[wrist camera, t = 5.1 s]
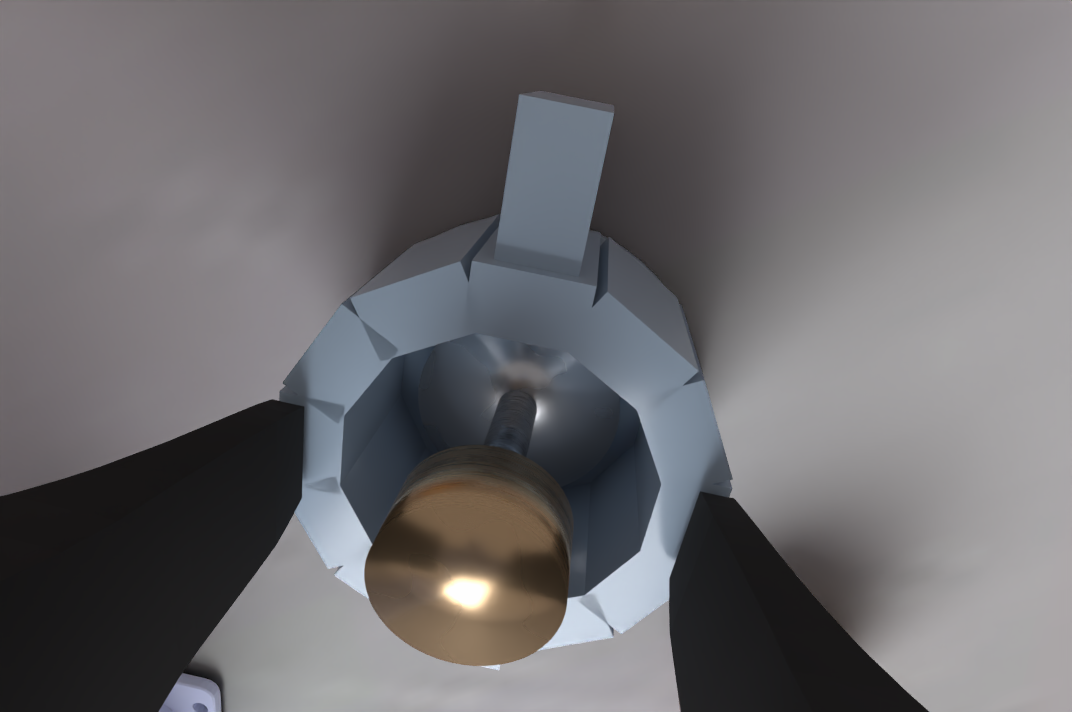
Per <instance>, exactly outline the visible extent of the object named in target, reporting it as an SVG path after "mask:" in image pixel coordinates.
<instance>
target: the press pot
mask: <svg viewBox="0 0 1072 712" xmlns="http://www.w3.org/2000/svg"><path fill="white" fill-rule="evenodd" d="M613 117H614V105H611V104H606V103H601V102H596V101H591V100H586V99H581V98H575V97H570V96H565V95H560V94H555V93H550V92H545V91H536V92H530V93H524V94H519V99H518V106H517V112H516V119H515V125H514V132H513V138H512V145H511V151H510V158H509V164H508V171H507V177H506V184H505V190H504V196H503V203H502V209H501V216H500V214H498V215H495V216H492V217H489V218H485V219H481V220H477V221H473V222H470V223H466V224H462V225H460V226H457V227H455V228H453V229H450V230H448V231H446V232H443V233H441V234H439V235H437V236H435V237H432V238H429V239H426V240H423V241H420V242H418V243H415V244H414V245H413V246H412V247H410V248H408V249H407V250H406V251H405V252H403V253H402V254H401V255H400V256H399V257H397V258H396V259H395V260H394V261H393V262H391V263H390V264H389V265H388V266H387V267H385V268H384V269H383V270H382V271H381V272H379V273H378V274H377V275H376V276H375V277H373V278H372V279H371V280H370V281H369V282H367V283H366V284H365V285H364V286H363V287H361V288H360V289H359V290H358V291H357V292H355V293H354V294H353V295H352V296H351V297H349V298H348V299H347V300H346V301H345V302H343V303H342V304H341V305H340V307H339V308H338V309H337V311H336V312H335V313H334V315H333V316H332V317H331V319H330V320H329V321H328V323H327V324H326V325H325V327H324V328H323V329H322V331H321V332H320V333H319V335H318V336H317V337H316V339H315V340H314V341H313V343H312V344H311V345H310V347H309V348H308V349H307V351H306V352H305V353H304V355H303V356H302V357H301V359H300V360H299V361H298V363H297V364H296V365H295V367H294V368H293V369H292V371H291V372H290V373H289V375H288V376H287V377H286V379H285V380H284V381H283V384H284V385H286V386H285V387H284V388H283V389H282V390H281V391H280V401H281V402H286V403H291V404H295V405H300V406H304V442H303V478H302V499H301V501H300V503H299V505H298V506H297V508H296V510H295V512H294V513H295V514H296V516H297V518H298V519H299V521H300V523H301V524H302V526H303V528H304V529H305V531H306V533H307V534H308V536H309V538H310V539H311V541H312V543H313V545H314V546H315V548H316V550H317V551H318V553H319V555H320V556H321V558H322V560H323V561H324V563H325V565H326V566H327V568H328V569H330V568H334V567H338V569H337V571H336V573H335V574H334V576H336V577H337V578H339V579H340V580H342V581H343V582H345V583H346V584H348V585H349V586H350V587H352V588H353V589H355V590H356V591H358V592H359V593H361V594H362V595H364V596H365V597H366V598H368V599H369V597H368V594H367V591H366V586H365V580H364V568H365V562H366V558H367V555H368V552H369V550H370V548H371V546H372V544H373V542H374V540H375V538H376V536H377V534H378V532H379V530H380V528H381V526H382V524H383V523H384V521H385V519H386V517H387V515H388V513H389V511H390V509H391V507H392V505H393V503H394V501H395V499H396V497H397V495H398V493H399V492H400V490H401V488H402V486H403V484H404V482H405V480H406V479H407V477H408V475H409V474H410V473H411V472H412V470H413V469H414V468H415V467H416V466H417V465H418V464H419V463H421V462H422V461H423V460H425V459H426V458H428V457H429V456H431V455H433V454H435V453H437V452H438V450H437V449H436V448H435V446H434V445H433V443H432V442H431V440H430V438H429V436H428V435H427V433H426V430H425V428H424V425H423V423H422V419H421V415H420V411H419V403H418V387H419V382H420V377H421V373H422V370H423V368H424V365H425V363H426V361H427V359H428V357H429V355H430V354H431V352H432V351H433V349H434V347H435V346H436V345H437V344H440V343H444V342H447V341H450V340H454V339H457V338H460V337H464V336H467V335H470V334H473V333H478V334H483V335H488V336H492V337H497V338H502V339H507V340H511V341H516V342H521V343H526V344H530V345H535V346H540V347H545V348H550V349H554V350H559V351H564V352H568V353H569V354H570V355H572V356H573V357H574V358H575V359H576V360H577V361H579V362H580V363H581V364H582V365H583V366H585V367H586V368H587V369H588V370H589V371H591V372H592V373H593V374H594V375H595V376H597V377H598V378H599V379H600V380H601V381H603V382H604V383H605V384H606V385H607V386H609V387H610V388H611V389H612V390H613V391H615V392H616V393H617V394H618V395H619V396H620V415H619V423H618V428H617V431H616V434H615V437H614V440H613V442H612V444H611V446H610V448H609V450H608V451H607V453H606V454H605V455H604V457H603V458H602V459H601V461H600V462H599V463H598V464H597V465H596V466H595V467H594V468H593V469H592V470H590V471H589V472H588V473H586V474H585V475H584V476H582V477H580V478H579V479H577V480H575V481H574V482H571V483H569V484H567V485H565V486H562V487H561V488H562V490H563V491H564V493H565V495H566V497H567V499H568V501H569V504H570V507H571V510H572V515H573V521H574V529H573V542H572V554H571V565H570V577H569V588H568V600H567V608H566V613H565V616H564V619H563V622H562V624H561V626H560V628H559V629H558V631H557V633H556V634H555V635H554V636H553V637H552V639H551V640H550V641H549V642H548V643H547V644H545V645H544V646H543V647H542V648H540V649H539V650H543V649H549V648H555V647H560V646H566V645H572V644H578V643H584V642H590V641H596V640H601V639H607V638H613V628H614V629H615V630H617V631H618V632H619V633H621V634H622V633H624V632H625V631H627V630H628V629H629V628H631V627H632V626H633V625H635V624H636V623H638V622H639V621H640V620H642V619H643V618H644V617H646V616H647V615H648V614H650V613H651V612H653V611H654V610H655V609H657V608H658V607H659V606H661V605H662V604H663V603H665V602H666V601H668V600H669V578H670V575H671V572H672V569H673V567H674V564H675V561H676V558H677V555H678V552H679V549H680V547H681V544H682V541H683V538H684V535H685V532H686V530H687V527H688V524H689V521H690V518H691V515H692V513H693V510H694V507H695V504H696V501H697V498H698V496H699V493H700V491H701V492H705V493H710V494H715V495H719V496H724V497H729V496H730V493H731V491H732V486H731V482H730V480H732V475H731V472H730V468H729V465H728V461H727V458H726V454H725V450H724V447H723V443H722V440H721V436H720V433H719V429H718V426H717V422H716V419H715V415H714V412H713V408H712V405H711V401H710V398H709V394H708V391H707V387H706V383H705V380H704V377H703V373H702V370H701V367H700V364H699V360H698V357H697V354H696V350H695V347H694V344H693V340H692V337H691V334H690V331H689V327H688V324H687V321H686V317H685V314H684V311H683V308H682V304H680V305H679V302H678V299H677V297H676V296H675V295H674V294H673V293H672V292H671V291H670V290H668V289H667V288H666V287H665V286H664V285H663V284H662V282H661V281H660V280H659V278H658V277H657V276H656V275H655V274H654V273H653V272H652V271H651V270H650V269H649V268H648V267H647V266H646V265H645V264H644V263H643V262H642V261H640V260H639V259H638V258H637V257H635V256H634V255H633V254H632V253H630V252H629V251H628V250H626V249H625V248H624V247H622V246H620V245H619V244H617V243H616V242H615V241H614V240H612V239H611V238H610V237H608V238H607V237H605V236H603V235H601V232H597V231H592V230H589V228H590V223H591V219H592V214H593V209H594V205H595V200H596V195H597V191H598V186H599V181H600V177H601V172H602V168H603V163H604V158H605V154H606V149H607V144H608V140H609V135H610V130H611V126H612V121H613ZM482 667H486V668H491V669H495V670H499V668H500V665H491V666H482Z"/></svg>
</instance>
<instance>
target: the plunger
mask: <svg viewBox="0 0 1072 712" xmlns="http://www.w3.org/2000/svg"><path fill="white" fill-rule="evenodd" d="M418 403H419V411H420V415H421V419H422V423H423V425H424V428H425V430H426V433H427V435H428V436H429V438H430V440H431V442H432V443H433V445H434V446H435V448H436V449H437V450H438V452H437V453H435V454H433V455H431V456H429V457H428V458H426V459H425V460H423V461H422V462H421V463H419V464H418V465H417V466H416V467H415V468H414V469H413V470H412V472H411V473H410V474H409V475H408V477H407V479H406V480H405V482H404V484H403V486H402V488H401V490H400V492H399V493H398V495H397V497H396V499H395V501H394V503H393V505H392V507H391V509H390V511H389V513H388V515H387V517H386V519H385V521H384V523H383V524H382V526H381V528H380V530H379V532H378V534H377V536H376V538H375V540H374V542H373V544H372V546H371V548H370V550H369V552H368V555H367V558H366V562H365V568H364V580H365V586H366V591H367V594H368V597H369V600H370V602H371V604H372V606H373V608H374V610H375V611H376V613H377V615H378V616H379V618H380V619H381V620H382V621H383V622H384V624H385V625H386V626H387V627H388V628H389V629H390V630H391V631H392V632H393V633H394V634H395V635H396V636H398V637H399V638H400V639H402V640H403V641H404V642H406V643H407V644H409V645H410V646H412V647H414V648H415V649H417V650H419V651H421V652H423V653H425V654H427V655H430V656H432V657H435V658H438V659H440V660H444V661H448V662H451V663H457V664H462V665H472V666H491V665H500V664H505V663H509V662H513V661H516V660H519V659H522V658H525V657H527V656H529V655H531V654H533V653H534V652H536V651H537V650H539V649H540V648H542V647H543V646H544V645H545V644H547V643H548V642H549V641H550V640H551V639H552V637H553V636H554V635H555V634H556V633H557V631H558V629H559V628H560V626H561V624H562V622H563V619H564V616H565V613H566V608H567V600H568V588H569V577H570V565H571V554H572V542H573V529H574V521H573V515H572V510H571V507H570V504H569V501H568V499H567V497H566V495H565V493H564V491H563V490H562V488H561V487H562V486H565V485H567V484H569V483H571V482H574V481H575V480H577V479H579V478H580V477H582V476H584V475H585V474H586V473H588V472H589V471H590V470H592V469H593V468H594V467H595V466H596V465H597V464H598V463H599V462H600V461H601V459H602V458H603V457H604V455H605V454H606V453H607V451H608V450H609V448H610V446H611V444H612V442H613V440H614V437H615V434H616V431H617V428H618V423H619V415H620V396H619V395H618V394H617V393H616V392H615V391H613V390H612V389H611V388H610V387H609V386H607V385H606V384H605V383H604V382H603V381H601V380H600V379H599V378H598V377H597V376H595V375H594V374H593V373H592V372H591V371H589V370H588V369H587V368H586V367H585V366H583V365H582V364H581V363H580V362H579V361H577V360H576V359H575V358H574V357H573V356H572V355H570V354H569V353H568V352H564V351H559V350H554V349H550V348H545V347H540V346H535V345H530V344H526V343H521V342H516V341H511V340H507V339H502V338H497V337H492V336H488V335H483V334H478V333H473V334H470V335H467V336H464V337H460V338H457V339H454V340H450V341H447V342H444V343H440V344H437V345H436V346H435V347H434V349H433V351H432V352H431V354H430V355H429V357H428V359H427V361H426V363H425V365H424V368H423V370H422V373H421V377H420V382H419V387H418Z"/></svg>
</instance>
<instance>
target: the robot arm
mask: <svg viewBox="0 0 1072 712" xmlns="http://www.w3.org/2000/svg"><path fill="white" fill-rule="evenodd" d="M303 442H304V406H300V405H295V404H291V403H286V402H281V401H277V400H269V401H266V402H263V403H260V404H257V405H255V406H252V407H249V408H247V409H245V410H242V411H240V412H237V413H235V414H232V415H230V416H228V417H225V418H223V419H221V420H218V421H216V422H213V423H211V424H209V425H206V426H204V427H201V428H199V429H197V430H194V431H192V432H189V433H187V434H185V435H182V436H180V437H177V438H175V439H173V440H170V441H168V442H165V443H163V444H160V445H157V446H155V447H152V448H149V449H147V450H144V451H141V452H139V453H136V454H133V455H131V456H128V457H125V458H122V459H120V460H117V461H114V462H112V463H109V464H106V465H104V466H101V467H98V468H95V469H92V470H89V471H86V472H83V473H80V474H77V475H74V476H71V477H68V478H64V479H61V480H58V481H54V482H51V483H47V484H44V485H41V486H37V487H34V488H30V489H27V490H23V491H20V492H16V493H12V494H9V495H5V496H1V497H0V712H221V696H220V690H219V687H218V686H217V684H216V683H214V682H213V681H212V680H209V679H206V678H202V677H198V676H193V675H189V674H184V673H183V671H184V670H185V669H186V667H187V666H188V664H189V663H190V661H191V660H192V658H193V657H194V655H195V654H196V652H197V651H198V650H199V648H200V647H201V646H202V644H203V643H204V642H205V640H206V639H207V638H208V636H209V635H210V634H211V632H212V631H213V630H214V628H215V627H216V626H217V624H218V623H219V622H220V620H221V619H222V618H223V616H224V615H225V614H226V612H227V611H228V610H229V608H230V607H231V606H232V604H233V603H234V602H235V600H236V599H237V598H238V596H239V595H240V594H241V592H242V591H243V590H244V588H245V587H246V586H247V584H248V583H249V582H250V580H251V579H252V577H253V576H254V575H255V573H256V572H257V571H258V569H259V568H260V567H261V565H262V564H263V562H264V561H265V560H266V558H267V557H268V556H269V554H270V553H271V551H272V550H273V549H274V547H275V546H276V544H277V543H278V541H279V539H280V537H281V536H282V534H283V532H284V530H285V529H286V527H287V525H288V523H289V521H290V520H291V518H292V516H293V514H294V512H295V510H296V508H297V506H298V505H299V503H300V501H301V499H302V478H303ZM669 617H670V637H671V645H672V653H673V660H674V667H675V675H676V682H677V689H678V696H679V703H680V710H681V712H929V711H928V710H927V709H925V708H924V707H923V706H922V705H921V704H920V703H919V702H918V701H916V700H915V699H914V698H913V697H912V696H911V695H910V694H909V693H908V692H907V691H905V690H904V689H903V688H902V687H901V686H900V685H899V684H898V683H897V682H896V681H895V680H894V679H893V678H892V677H891V676H890V675H889V674H888V673H887V672H886V671H884V670H883V669H882V668H881V667H880V666H879V665H878V664H877V663H876V662H875V661H874V660H873V659H872V658H871V657H870V656H869V655H868V654H867V653H866V652H865V651H864V650H863V649H862V648H861V647H860V646H859V645H858V644H857V643H856V642H855V641H854V640H853V639H852V638H851V637H850V636H849V635H848V633H847V632H846V631H845V630H844V629H843V628H842V627H841V626H840V625H839V624H838V623H837V621H836V620H835V619H834V618H833V617H832V616H831V615H830V614H829V613H828V612H827V611H826V610H825V608H824V607H823V606H822V605H821V604H820V603H819V602H818V600H817V599H816V598H815V597H814V596H813V595H812V594H811V592H810V591H809V590H808V589H807V588H806V587H805V585H804V584H803V583H802V582H801V581H800V579H799V578H798V577H797V576H796V575H795V573H794V572H793V571H792V570H791V569H790V567H789V566H788V565H787V564H786V562H785V561H784V560H783V559H782V557H781V556H780V555H779V554H778V552H777V551H776V550H775V549H774V547H773V546H772V545H771V544H770V542H769V541H768V540H767V539H766V537H765V536H764V535H763V533H762V532H761V531H760V530H759V528H758V527H757V526H756V525H755V523H754V522H753V521H752V520H751V518H750V517H749V516H748V514H747V513H746V512H745V511H744V510H743V508H742V507H741V506H740V505H739V504H738V502H737V501H736V500H735V499H733V498H729V497H724V496H719V495H715V494H710V493H705V492H701V491H700V493H699V496H698V498H697V501H696V504H695V507H694V510H693V513H692V515H691V518H690V521H689V524H688V527H687V530H686V532H685V535H684V538H683V541H682V544H681V547H680V549H679V552H678V555H677V558H676V561H675V564H674V567H673V569H672V572H671V575H670V578H669Z"/></svg>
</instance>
